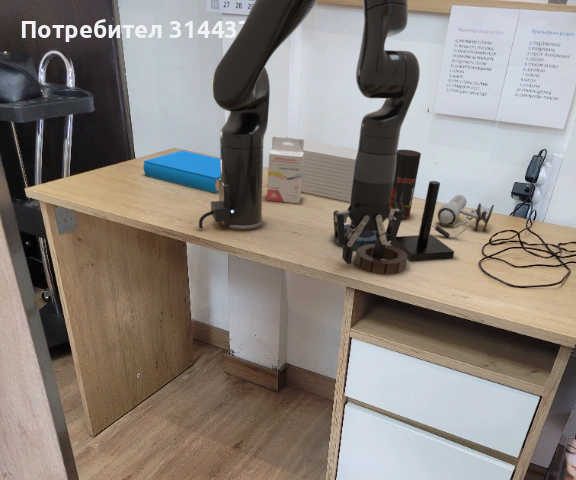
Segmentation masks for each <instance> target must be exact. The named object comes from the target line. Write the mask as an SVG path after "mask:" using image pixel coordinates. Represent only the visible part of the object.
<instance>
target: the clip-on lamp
mask: <svg viewBox="0 0 576 480" xmlns="http://www.w3.org/2000/svg"><path fill="white" fill-rule="evenodd" d="M467 203H468V202H467V198H466V196H465V195H462V194H457V195H455V196H453V197H452V199H450V200H449V202H448V203H445V204H442V205H441V206H440V208H439V209H438V211H437V220H438V222H439V223H440V224H441V225H443V226H446V227H447V226H452V225H453V227H455V228H456V227H458V226H461V225H464V224H467V225H466V227H465V228H464V229H463V230H462V231H460V232H459V233H458V234H456V235H453V236H452V235H451V233H450V232H448V231H446V230H445V229H443V228H442V227H441V226H439V225H431V227H433V228H434V230H435V231H436V232H438V233H439V234H441V236H444V237H445V238H446V239H448V238H450V239H451V238H452V239H454V238H456V237H459V236H460V235H462V233H464V232H465V231H466V230H467V229H468V228H469V226H470V224H471V222H470V221H471V220H473V219H475V227H474V231H475V232H476V231H477V230H478V227H479V223H480V222H481V221H483V223H484V226H483V230H482V232H486V228H487V225H488V224H489V221H490V218H491V216H492V213H493V209H494V207H495V205H494V204H492V205H491V206H490V207H487V208H485V207H484V205H482V204H481V203H478V206H477V208H476V209H472V210H471V211H468V210H464V209H465V207H467V206H466V205H467ZM460 214H461V215H463V216H465V218H464V220H463V221H461V222H458V221H459V218H460Z"/></svg>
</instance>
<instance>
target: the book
mask: <svg viewBox="0 0 576 480" xmlns="http://www.w3.org/2000/svg"><path fill="white" fill-rule="evenodd" d="M143 173H144V175H145V176H146V177H150V178H154V179H158V180H163V181H166V182H171V183H175V184H179V185H183V186H186V187H190V188H194V189H199V190H202V191H206V192H211V193H215V194H217V193H218V194H219V178H221V158H219V157H215V156H210V155H206V154H200V153H195V152H193V151H192V152H191V151H188V150H183V149H182V150H178V151H175V152H172V153H168V154H167V153H166V154H163V155H160V156H156V157H153V158H150V159H145V160H143Z"/></svg>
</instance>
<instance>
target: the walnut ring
mask: <svg viewBox="0 0 576 480" xmlns="http://www.w3.org/2000/svg"><path fill="white" fill-rule="evenodd" d="M374 247H375V244H367V245H363V246H361V247H358V249H357V250H355V251H356V252H355V258H354V262H355V264H356V265H357V266H358V267H359V268H360V269H362V270H364V271H367V272H369V273H374V274H381V275H392V274H393V275H395V274H399V273H401V272H403V271H405V269H406V266H407V261H408V258H407V254H406V253H405V252H404V251H403V250H401V249H399V248H396V247H394V246H393V245H389V244H385V250H384V256H383V258H382V259H381V260H379V259H374V258H373V254H374Z"/></svg>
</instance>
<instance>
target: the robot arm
mask: <svg viewBox="0 0 576 480" xmlns="http://www.w3.org/2000/svg"><path fill="white" fill-rule="evenodd" d="M317 1H318V0H255V1H254V3H253V5H252V6H251V8H250V11H249V13H248V15H247V17H246V19H245V21H244V23H243V25H242V26H241V28H240V30H239V32H238V33H237V35H236V37H235V39H233V41H232V43H231V44H230V46H229V47H228V49H227V50H226V52H225V53H224V55H223V56H222V57H221V59H220V61H219V63H218V64H217V66H216V68H215V70H214V72H213V75H212V79H211V92H212V96H213V99H214V101H215V103H216V104H217V105H218V107H219V108H221V109H223V110H224V111H228V117H227V120H226V121H225V123H224V125H223V126H222V127H221V129H220V132H219V148H220V150H219V151H220V156H219V157H220V159H221V178H219V192H218V200H214V201H213V200H211V201H210V211H208V212H206V213H204V214H202V215H201V216H200V218H199V220H198V228H199V229H203V222H204V220H205V219H206V218H207V217H210V216H212V218H213V220H214V222H215V223H220V224H221V225H222V227H223V228H224V229H232V230H240V231H247V230H253V229H258V228H260V227H261V226H262V224H263V222H262V221H263V214H262V212H263V180H264V179H263V177H264V176H263V173H264V142H265V141H264V140H265V135H266V133H267V130H268V126H269V125H268V124H269V112H270V94H271V88H270V87H271V85H270V77H269V73H268V70H267V68H266V65H267V64H268V61H269V60H270V59H271V57H272V56H273V54H274V53H275V52H276V51H277V49H278V48H280V46H281V45H282V44H283V43H284V42H285V41H286V40H287V39H288V38H289V37H290V36H291V35H292V34H293V33H294V32H295V31H296V30H297V29H298V27H300V26H301V24H302V23H303V22H304V21H305V20H306V18H307V17H308V16H309V14H310V13H311V11H312V10H313V9H314V6H315V5H316V3H317ZM362 3H363V4H362V5H363V30H362V36H361V43H360V48H359V54H358V58H357V63H356V68H355V69H356V70H355V80H356V85H357V88H358V91H359V92H360V94H361V95H362V97H365V98H367V99H385V100H384V102H383V104H382V106H381V107H380V108H379V109H377V110H375V111H372V112H369V113H367V114H365V115H364V116H363V117H362V120H361V123H360V127H359V128H360V129H359V138H358V147H357V149H358V152H357V156H356V160H355V167H354V176H353V184H352V192H351V202H350V204H349V206H348V208H347V210H342V211H339V210H334V211H333V213H332V215H333V234H334V239H335V240H337V241H338V243H339V244H341V245H342V244H343V247H342V254H341V257H342V260H343V261H344V262H345V264H346V265H351V264H352V262H353V256H354V255H353V254H354V250H353V246H352V245H353V243H354V242H355V240H356V238H360V237H359V235H360V234H361V232H362V231H367V230H371V231H374V232H375V235H376V239H377V241H375V247H374V254H373V257H372V258H374V259H379V260H383V259H384V258H383V256H384V250H385V245H387V243H388V242H391V241H394V240H395V239H396V237H398V232H399V230H400V226H401V223H402V221H403V220H402V217H403V212H402V211H400V210H399V209H398V208H393V209H390V207H389V203H390V201H391V196H392V189H393V183H394V177H395V170H396V158H397V150H399V149H398V148H399V142H400V136H401V129H402V126H403V124H404V121H405V118H406V117H407V114H408V112H409V109H410V107H411V104H412V102H413V99H414V97H415V94H416V92H417V89H418V86H419V81H420V77H421V76H420V75H421V70H420V63H419V60H418V57H417V56H416V55H415V54H414V53H413V52H411V51H409V50H392V49H391V50H390V49H389V50H386V49H385V44H386V40H387V38H390V37H391V38H392V37H394V36H397V35H399V34H401V33H402V32H404V31H405V29H406V27H407V25H408V21H409V20H408V18H409V11H408V7H409V6H408V0H362ZM388 216H389V217H388ZM387 218H388V219H389V220H388V223H387V225H386V229H385V226H384V223H385V221H386V220H387ZM348 219H349V220H350V222H349V223H348V224H349V226H348V228H347V232H346V234H345V233H344V225H345V224H346V223H347V220H348ZM355 227H356V229H355ZM335 240H334V241H335Z"/></svg>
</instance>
